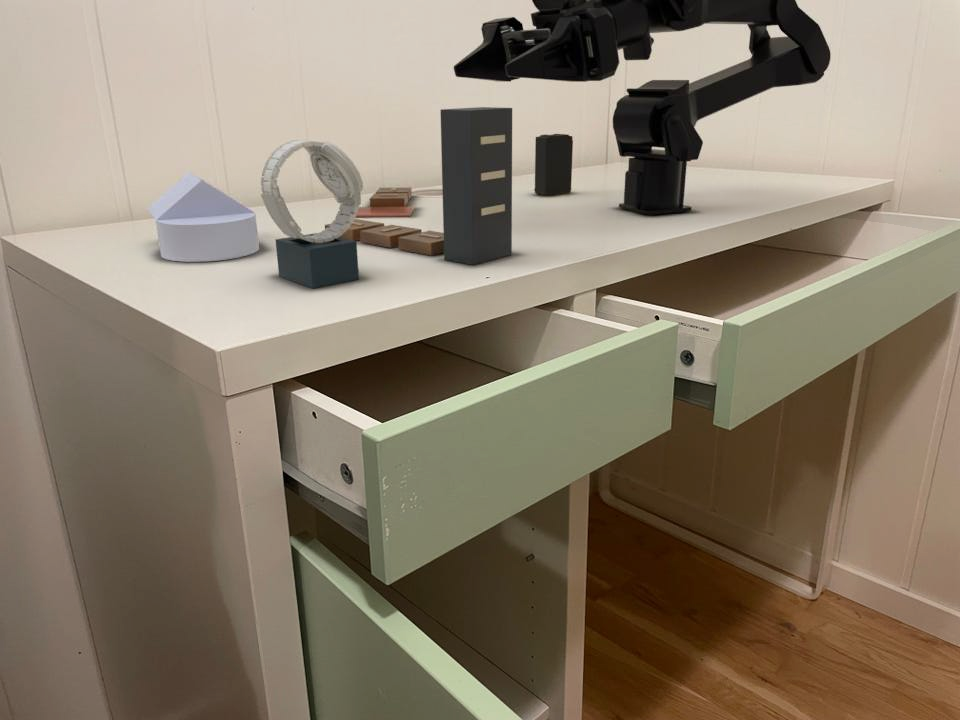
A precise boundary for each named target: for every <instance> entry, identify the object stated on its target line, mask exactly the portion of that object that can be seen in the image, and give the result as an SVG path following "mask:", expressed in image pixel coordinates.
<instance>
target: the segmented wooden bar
mask: <svg viewBox="0 0 960 720" xmlns="http://www.w3.org/2000/svg"><path fill="white" fill-rule="evenodd" d="M330 224H331V223H326V224H324V230H325V229H326V228H329V225H330ZM340 238H344V239H348V240H352V241H356V242H357V241H360V243H362V244H365V245H366V244H367V245H371V246H378V247H383V248H389V249H392V248H396V247H398V250H400V251H405V252H410V253H414V254H419V255H425V256H431V257H432V256H435V255H440V254H444V232H441V231H436V230H435V231H434V230H426V231H422V229H420V228H415V227H410V226H402V225H398V224H397V225H396V224H388V225H385V223H384V222H377V221H373V220H372V221H371V220H364V219H360V218H359V219H358V218H355V219H354V221H353V223H352V224H351V226H350V227H349V229H348V230H347V231H346V232H345V233H343V235H341V236H340Z"/></svg>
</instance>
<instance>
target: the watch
mask: <svg viewBox="0 0 960 720" xmlns="http://www.w3.org/2000/svg"><path fill="white" fill-rule="evenodd" d="M301 149H305V150H306V152H307V153H308V155H309V156H310V157H309V160H310V163H311V167H312V169H313V172H314V174H315V175H316V177H317V178H318V180H319V181H320V182H321V183H322V185H323V186H324V187H325V188H326V189H327V190H328V191H329V192H330V193H332V195H333V197H334V200H335V201H336V203H337V204H339V207H338V209H339V210H338V211H337V213H336V216H335V218H334V219H333V220H332V222H331V223H329V224H330V225H329V228H326V229H325V228H324V229H323V230H322V231H320V232H315V233H309V234H303V232H302V228H301V226H299V224H298V223H297V222H296V220H295V219H294V217H293V216H292V213H290V210H289V209H288V206H287V204H286V201H285V199H284V197H282V195H281V191H280V186H279V185H278V177H279V175H280V171H281V168H282V167H283V166H284V164H285V162H286V161H287V159H289V158H290V157H291V156H292V155H294V153H295V152H298V151H299V150H301ZM260 184H261V188H260V189H261V194H260V197H261V199H262V201H263V204H264V206H265V208H266V211H267V212H268V214H269V216H270V218H271V219H272V221H273V222H274V224H275V226H277V227H278V229H279V230H280V231H281V232H282V234H284V235H285V236H287V237H283V238H282V237H281V238H275V248H276V258H277V259H276V260H277V268H278V277H280V278H282V279H284V280H288V281H290V282H291V281H292V282H294V283H296V284H299V285H302V286H305V287H307V288H310V289H316V288H321V287H327V286H332V285H337V284H342V283H347V282H352V281H357V280H359V278H360V276H359V275H360V273H359V260H358V258H359V257H358V244H357V240H356V241H352V240H348V239H344V238H340V236H341V235H343V233H345V232H346V231H347V230H348V229H349V227H350V226H351V224H352V223H353V221H354V219H356V218H357V217H356V214H357V211H358V208H359V207H360V206H361V204H362V195H361V194H362V193H361V192H362V191H363V189H364V182H363V178H362V176H361V174H360V171H359V170H358V168H357V166H356V165H355V163H354V162H353V160H352V159H351V158H350V157H349V156H348V155H347V153H346V152H344V150H342V148H340V147H339V146H337V145H335V144H334V143H332V142H329V141H316V140H315V141H312V140H305V139H300V140H297V139H295V140H289V141H287V142H284V143H283V144H281V145H280V146H279V147H277V148H276V149H275V150H273V152H271V154H270V155H269V157H268V158H267V160H266V161H265V163H264V166H263V169H262V172H261V177H260Z"/></svg>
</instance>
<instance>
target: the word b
mask: <svg viewBox="0 0 960 720" xmlns="http://www.w3.org/2000/svg"><path fill="white" fill-rule="evenodd" d="M412 191H413V190H412V186H411V187H409V186H408V187H379V188H378V189H377V190H376V191H375V193H373V195H371V197H370V198H369V206H359V208H358V211H357V214H356V217H355V218H377V217H378V218H385V217H387V218H390V217H391V218H392V217H396V218H397V217H401V218H402V217H405V218H406V217H407V218H408V217H411V215H412V214H413V213H414V211H415V206H407V204H408V203H409V201H410V200H411V198H412V197H413V195H412V194H413V192H412Z"/></svg>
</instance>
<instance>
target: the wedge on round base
mask: <svg viewBox="0 0 960 720" xmlns="http://www.w3.org/2000/svg"><path fill="white" fill-rule="evenodd" d="M147 210H148V211H149V212H150V214H151V216H152V218H153V219H154V220H155V225H156V231H157V238H158V239H157V240H158V245H159V252H160V257H161V258H162V259H164V260H167V261H174V262H187V263H195V262H196V263H200V262H201V263H202V262H215V261H226V260H231V259H239V258H243V257H246V256H250V255H252V254H255V253H257V252H258V251H259V250H260V243H259V233H258V223H257V216H256V215H257V214H256V212H255V211H253V210H252V209H251V208H249V207H248V206H246V205H244V204H243V203H242V202H241V201H239V200H237V199H235V198H234V197H233V196H231V195H230V194H227V192H224V191H222V190H221V189H219V188H218V187H216V186H214V185H212V184H211V183H210V182H209V181H208V182H207V181H206V180H204V179H203V178H201V177H200V176H198V175H197V174H195V173H193V172H191V171H188V172H187V173H186V174H185V175H184V176H182V177H181V178H180V179H179V180H177V182H175V183H174V184H173V185H172V186H171V187H170V188H168V189H167V190H166V191H165V192H164V193H163V194H161V196H159V197H158V198H157V199H156V200H155V201H154V202H152V203H151V204H150V205H149V206H148V207H147Z"/></svg>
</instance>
